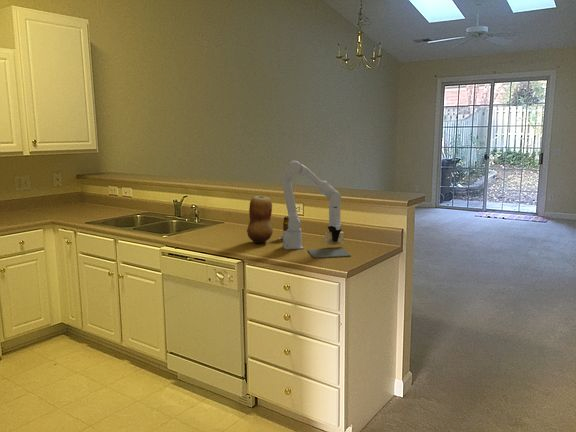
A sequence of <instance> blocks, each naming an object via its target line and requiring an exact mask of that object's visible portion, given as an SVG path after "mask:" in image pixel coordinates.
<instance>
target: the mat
mask: <svg viewBox="0 0 576 432" xmlns="http://www.w3.org/2000/svg"><path fill="white" fill-rule="evenodd" d="M307 252H308V253H309V255H310V256H311V257H312V258H313V259H326V258H328V259H329V258H331V259H332V257H333V258H346V257H347V258H351V257H352V255H351V253H349V252H348V251H347V250H346V249H344V248H342V247H341V248H321V249H318V248H317V249H308V250H307Z"/></svg>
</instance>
